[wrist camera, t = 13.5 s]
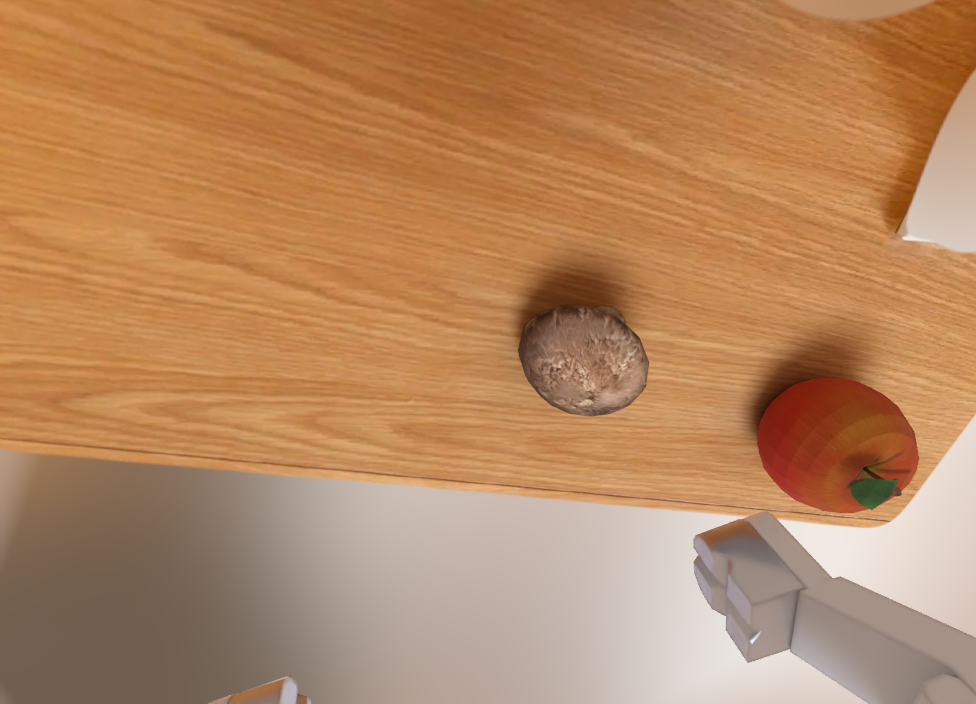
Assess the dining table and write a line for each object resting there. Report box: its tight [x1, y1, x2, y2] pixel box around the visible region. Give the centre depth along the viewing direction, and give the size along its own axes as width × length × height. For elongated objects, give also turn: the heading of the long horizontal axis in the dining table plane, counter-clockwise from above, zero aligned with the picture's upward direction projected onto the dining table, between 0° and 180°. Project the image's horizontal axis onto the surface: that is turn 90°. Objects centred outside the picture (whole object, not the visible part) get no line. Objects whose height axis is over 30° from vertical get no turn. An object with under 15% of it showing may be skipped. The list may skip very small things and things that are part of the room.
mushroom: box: [518, 305, 649, 416], centre depth 32 cm, size 8×8×6 cm
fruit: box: [757, 377, 919, 513], centre depth 37 cm, size 10×10×10 cm
